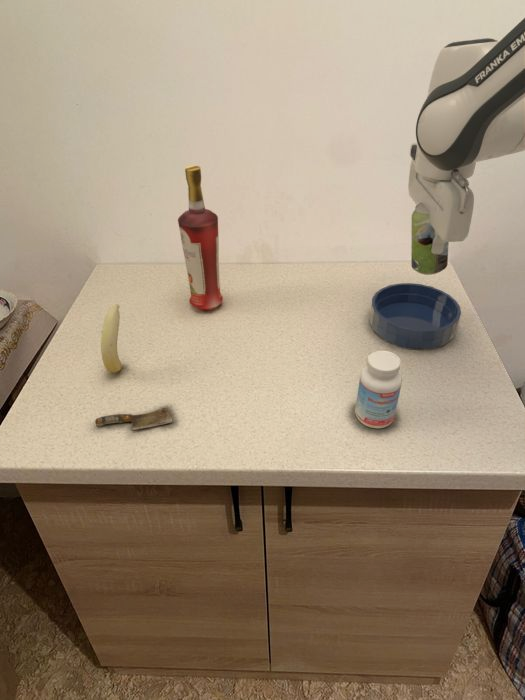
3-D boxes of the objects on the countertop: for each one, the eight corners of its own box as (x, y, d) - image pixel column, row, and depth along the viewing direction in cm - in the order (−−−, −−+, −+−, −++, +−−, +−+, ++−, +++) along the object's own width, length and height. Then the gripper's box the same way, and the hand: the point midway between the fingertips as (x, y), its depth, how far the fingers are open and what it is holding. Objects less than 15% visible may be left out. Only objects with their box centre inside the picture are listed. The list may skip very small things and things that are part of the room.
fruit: (95, 380, 84) (110, 384, 83) (98, 312, 79) (114, 316, 79) (111, 366, 89) (125, 370, 89) (115, 302, 84) (129, 306, 84)
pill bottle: (365, 433, 76) (374, 378, 69) (348, 406, 80) (355, 351, 73) (401, 425, 77) (414, 369, 70) (383, 398, 82) (393, 343, 75)
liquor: (182, 303, 105) (163, 167, 87) (212, 291, 108) (199, 158, 91) (200, 318, 100) (184, 179, 83) (231, 306, 103) (222, 169, 86)
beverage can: (449, 278, 87) (465, 212, 79) (406, 279, 87) (418, 212, 79) (440, 261, 92) (454, 197, 84) (399, 261, 92) (410, 197, 84)
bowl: (439, 300, 104) (444, 281, 101) (468, 349, 91) (474, 329, 88) (361, 303, 103) (364, 284, 101) (379, 352, 91) (383, 332, 88)
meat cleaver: (170, 433, 77) (176, 410, 81) (170, 427, 76) (175, 405, 80) (93, 430, 77) (103, 408, 81) (92, 425, 76) (101, 402, 80)
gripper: (493, 183, 70) (469, 271, 78) (444, 140, 86) (429, 217, 94) (448, 185, 70) (429, 273, 78) (407, 141, 86) (395, 218, 94)
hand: (428, 242), depth 86 cm, fingers closed on beverage can, 5 cm apart
